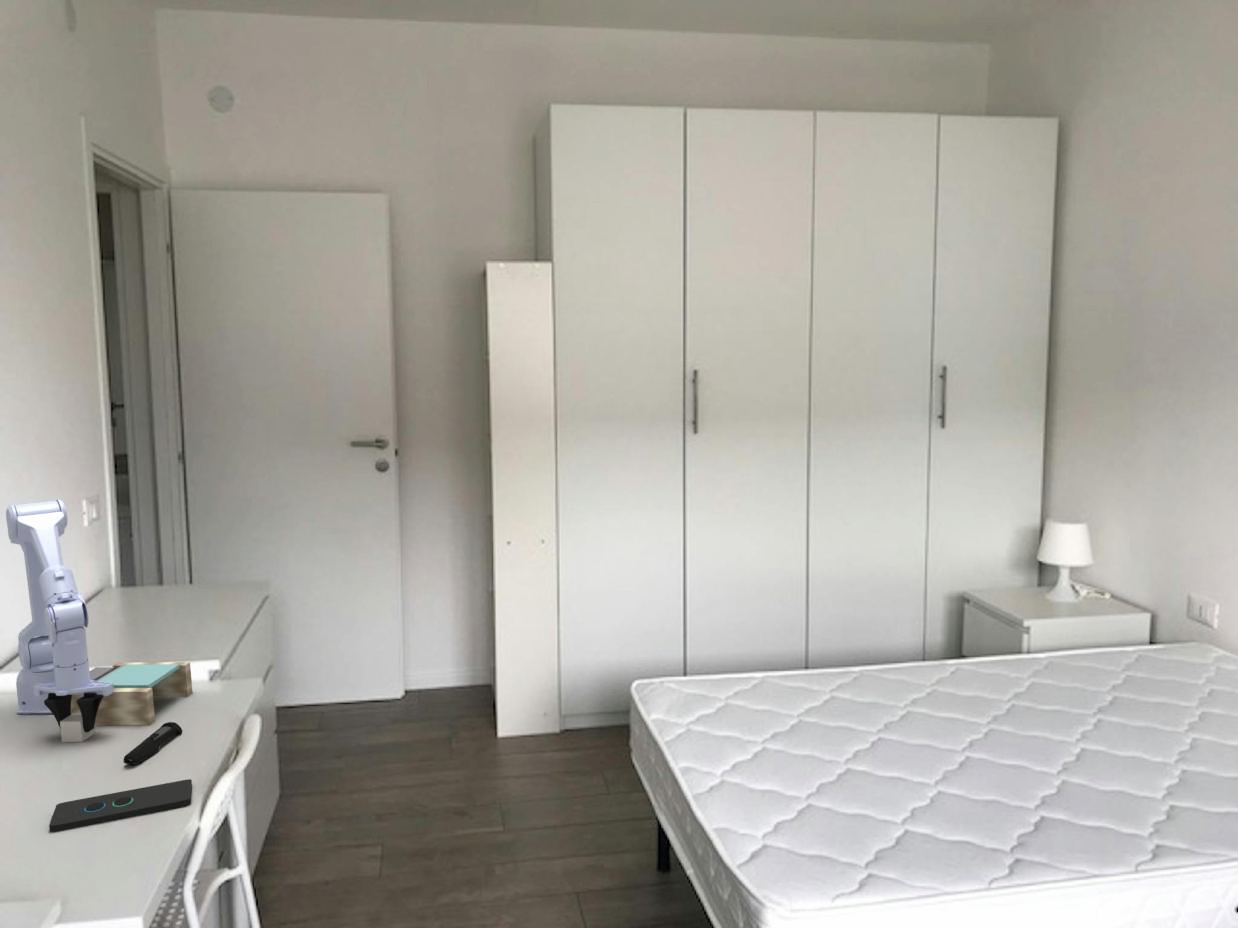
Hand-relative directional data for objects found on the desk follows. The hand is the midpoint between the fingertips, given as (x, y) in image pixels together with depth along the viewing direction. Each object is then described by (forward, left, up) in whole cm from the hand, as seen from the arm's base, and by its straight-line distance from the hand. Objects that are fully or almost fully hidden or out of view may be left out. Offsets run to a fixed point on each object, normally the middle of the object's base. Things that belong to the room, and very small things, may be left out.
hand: (77, 730), depth 177 cm
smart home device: (+25, -27, -2) cm, 37 cm away
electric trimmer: (+18, -5, -2) cm, 19 cm away
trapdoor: (+1, +14, +3) cm, 14 cm away
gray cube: (0, 0, -1) cm, 1 cm away
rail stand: (+3, +14, -1) cm, 14 cm away
